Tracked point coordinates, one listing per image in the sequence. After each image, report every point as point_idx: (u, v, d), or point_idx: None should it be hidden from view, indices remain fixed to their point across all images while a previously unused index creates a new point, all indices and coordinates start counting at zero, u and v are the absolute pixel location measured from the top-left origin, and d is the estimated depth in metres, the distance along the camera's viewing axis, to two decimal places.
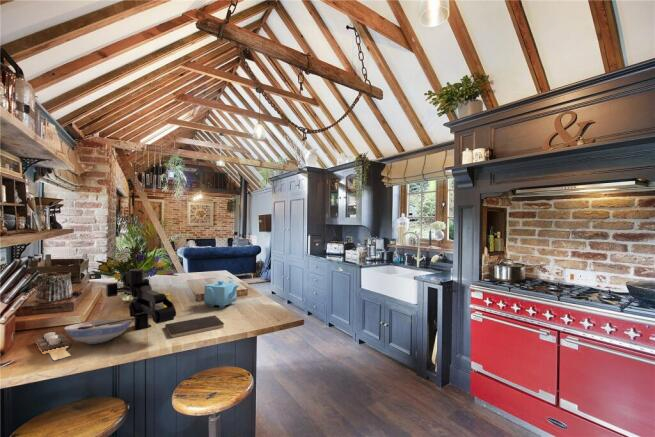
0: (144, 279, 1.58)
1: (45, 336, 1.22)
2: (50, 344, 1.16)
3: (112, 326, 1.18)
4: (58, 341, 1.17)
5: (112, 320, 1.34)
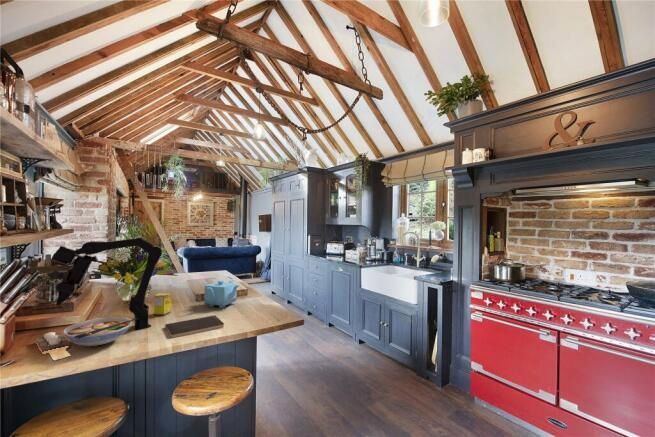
0: None
1: (45, 336, 1.22)
2: (50, 344, 1.16)
3: (109, 333, 1.17)
4: (58, 341, 1.17)
5: (114, 318, 1.34)
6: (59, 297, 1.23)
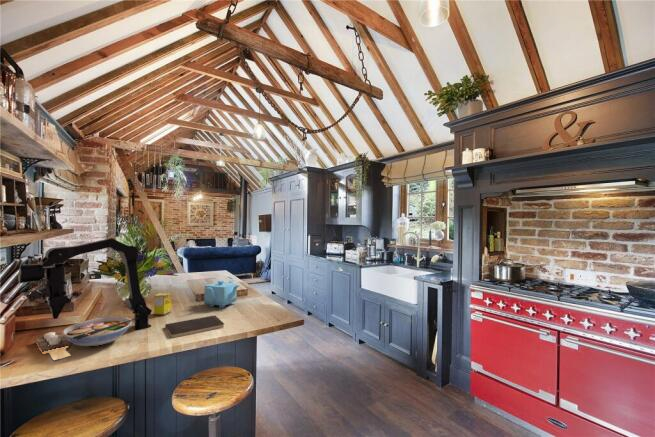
0: None
1: (45, 336, 1.22)
2: (50, 344, 1.16)
3: (108, 333, 1.16)
4: (58, 341, 1.17)
5: (114, 318, 1.34)
6: (54, 310, 1.16)
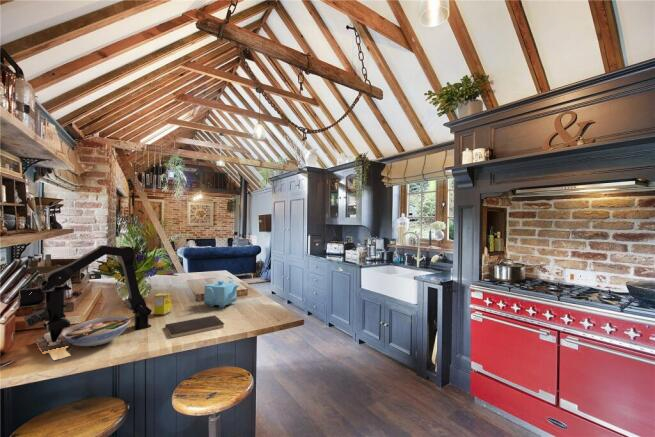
0: None
1: (45, 336, 1.22)
2: None
3: (107, 332, 1.16)
4: (58, 343, 1.17)
5: (113, 317, 1.33)
6: (52, 334, 1.16)
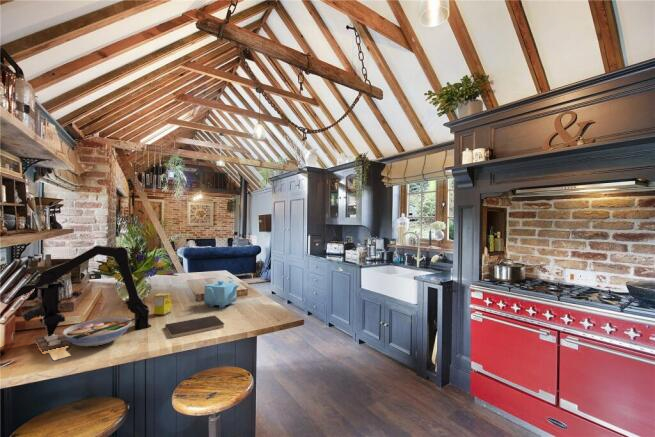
0: None
1: (45, 338, 1.22)
2: None
3: (108, 333, 1.16)
4: (58, 343, 1.17)
5: (114, 318, 1.34)
6: (48, 328, 1.22)
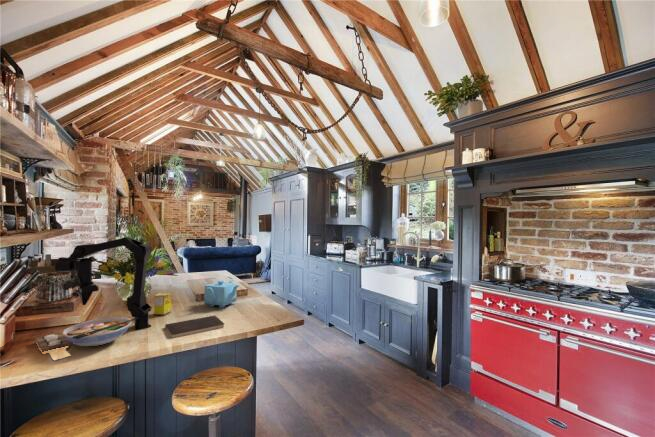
0: None
1: (45, 338, 1.22)
2: None
3: (108, 333, 1.16)
4: (58, 343, 1.17)
5: (114, 318, 1.34)
6: (83, 298, 1.37)
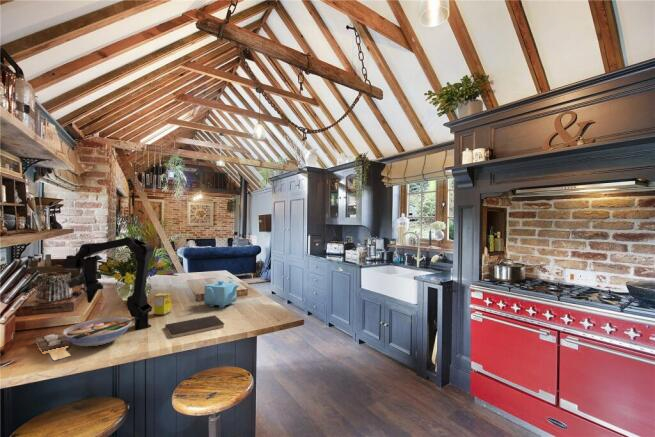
0: None
1: (45, 338, 1.22)
2: None
3: (108, 333, 1.16)
4: (58, 343, 1.17)
5: (114, 318, 1.34)
6: (88, 295, 1.39)
